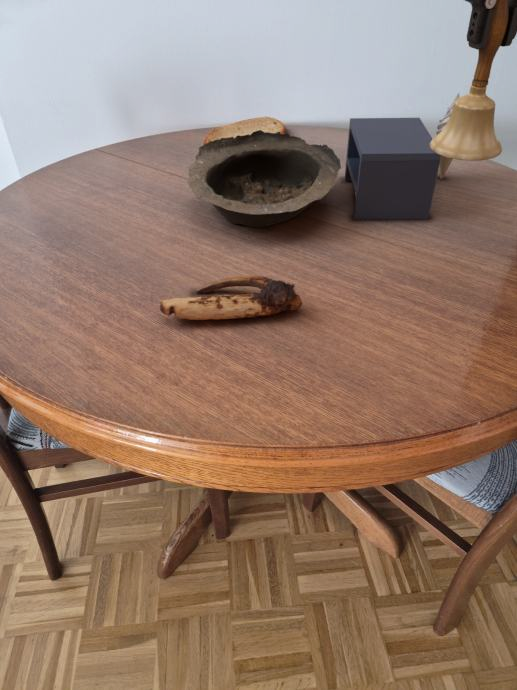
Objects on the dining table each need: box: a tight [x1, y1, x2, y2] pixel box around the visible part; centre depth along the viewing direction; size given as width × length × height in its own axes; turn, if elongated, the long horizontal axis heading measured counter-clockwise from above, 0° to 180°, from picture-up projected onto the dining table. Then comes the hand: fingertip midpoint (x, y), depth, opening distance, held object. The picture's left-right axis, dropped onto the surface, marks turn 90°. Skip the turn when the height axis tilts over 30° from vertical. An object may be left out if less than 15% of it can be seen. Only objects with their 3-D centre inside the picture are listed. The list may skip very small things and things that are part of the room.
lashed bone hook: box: [159, 275, 303, 321], centre depth 70 cm, size 9×5×18 cm
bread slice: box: [202, 116, 287, 146], centre depth 115 cm, size 18×18×4 cm
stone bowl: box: [187, 130, 342, 228], centre depth 90 cm, size 25×25×9 cm
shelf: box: [344, 117, 441, 221], centre depth 92 cm, size 12×16×11 cm
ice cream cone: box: [435, 92, 461, 179], centre depth 96 cm, size 5×5×15 cm
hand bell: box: [430, 0, 508, 162], centre depth 60 cm, size 8×8×16 cm
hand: (489, 45), depth 58 cm, fingers closed on hand bell, 2 cm apart
